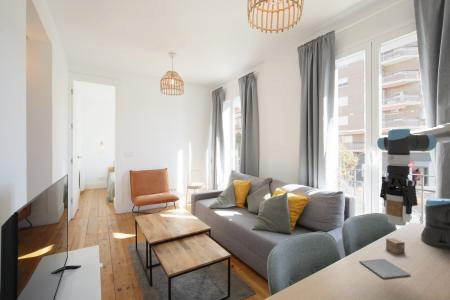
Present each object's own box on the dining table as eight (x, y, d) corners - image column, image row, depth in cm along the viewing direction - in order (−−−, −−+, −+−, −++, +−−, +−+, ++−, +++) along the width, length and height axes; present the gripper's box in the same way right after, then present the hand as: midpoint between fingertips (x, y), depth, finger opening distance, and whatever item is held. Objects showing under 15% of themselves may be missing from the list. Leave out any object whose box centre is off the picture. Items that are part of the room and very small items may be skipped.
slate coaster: (383, 260, 97) (383, 258, 97) (410, 275, 85) (410, 274, 85) (359, 262, 95) (359, 260, 95) (383, 278, 83) (383, 277, 83)
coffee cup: (414, 227, 88) (415, 190, 88) (390, 225, 90) (391, 189, 90) (402, 220, 96) (403, 187, 96) (380, 219, 98) (381, 186, 98)
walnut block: (394, 247, 108) (395, 237, 108) (404, 252, 104) (404, 242, 103) (386, 248, 108) (386, 238, 108) (395, 253, 103) (395, 243, 103)
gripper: (370, 163, 102) (369, 211, 103) (414, 167, 82) (413, 227, 82) (385, 163, 103) (384, 210, 104) (431, 167, 83) (430, 226, 83)
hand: (396, 218), depth 93 cm, fingers closed on coffee cup, 8 cm apart
